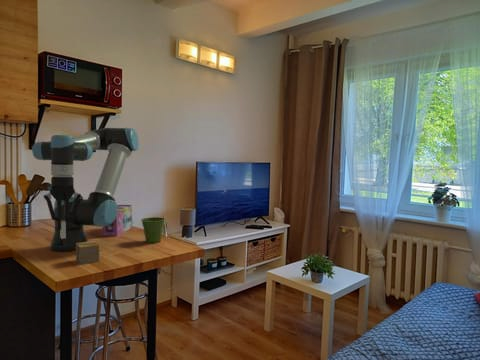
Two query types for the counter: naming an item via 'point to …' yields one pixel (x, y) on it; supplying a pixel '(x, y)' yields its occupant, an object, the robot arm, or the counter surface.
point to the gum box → (120, 221)
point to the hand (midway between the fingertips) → (63, 237)
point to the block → (87, 252)
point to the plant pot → (153, 228)
